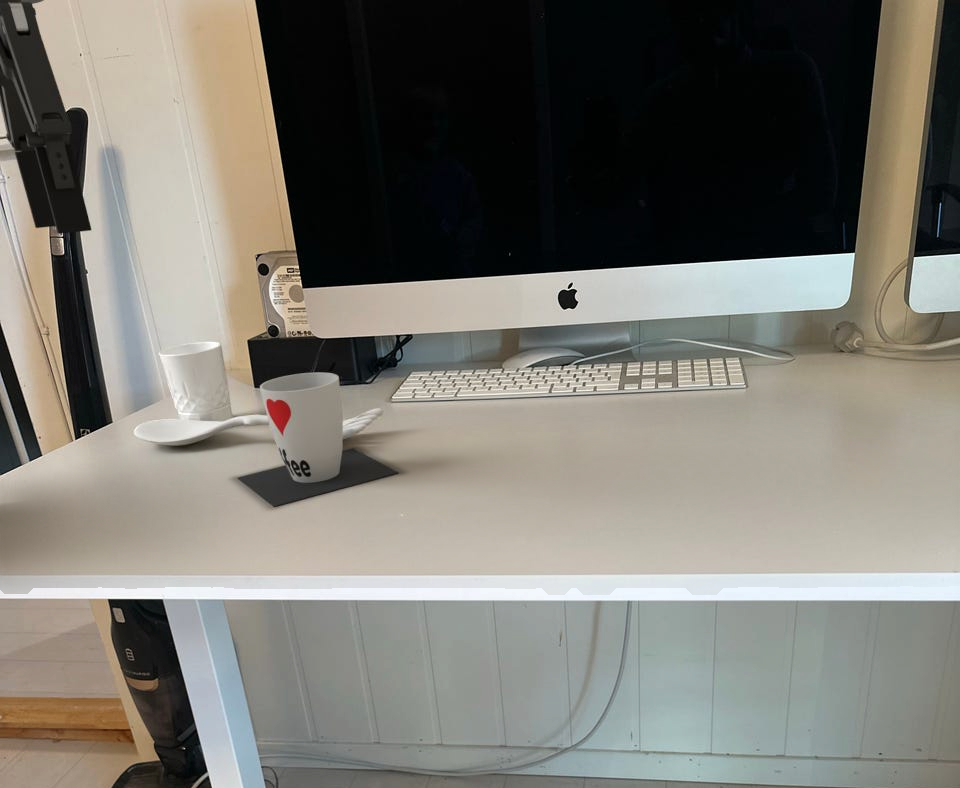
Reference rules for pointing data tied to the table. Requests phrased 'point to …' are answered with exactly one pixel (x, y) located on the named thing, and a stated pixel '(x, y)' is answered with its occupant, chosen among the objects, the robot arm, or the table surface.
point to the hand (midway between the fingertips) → (62, 229)
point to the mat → (284, 489)
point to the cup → (306, 423)
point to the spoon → (225, 427)
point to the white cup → (197, 381)
